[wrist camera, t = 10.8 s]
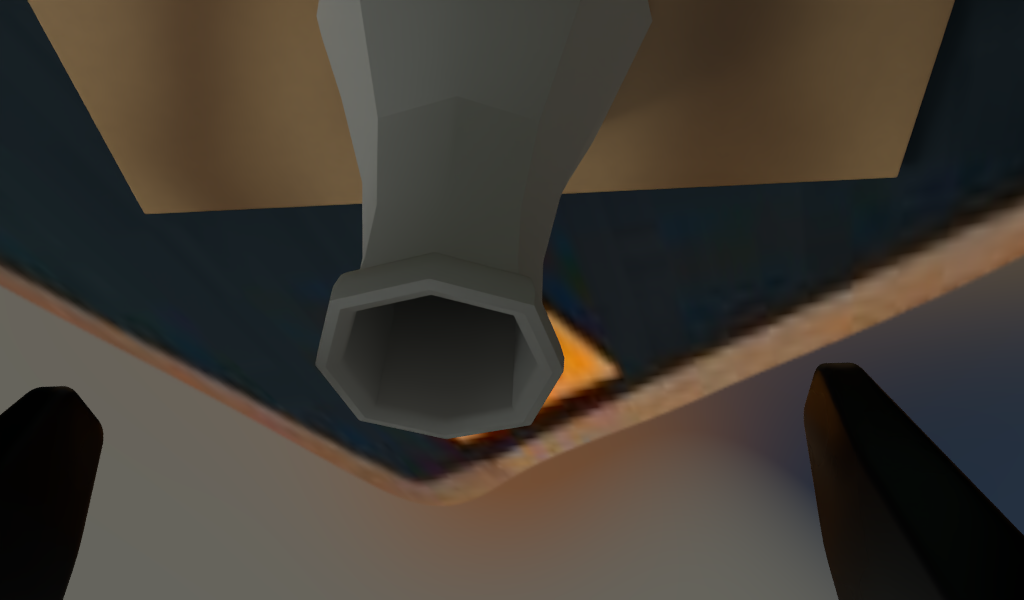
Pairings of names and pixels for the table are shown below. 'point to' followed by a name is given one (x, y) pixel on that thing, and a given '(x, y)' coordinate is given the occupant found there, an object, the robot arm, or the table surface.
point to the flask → (462, 197)
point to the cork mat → (606, 165)
